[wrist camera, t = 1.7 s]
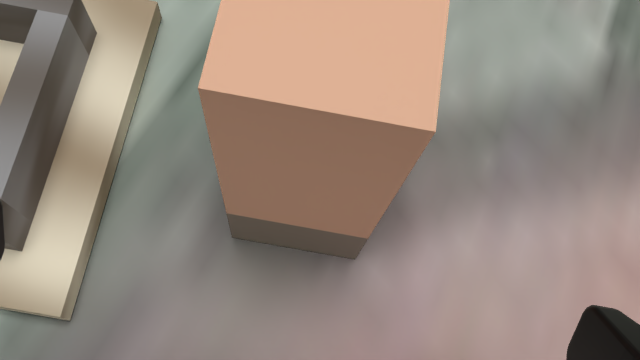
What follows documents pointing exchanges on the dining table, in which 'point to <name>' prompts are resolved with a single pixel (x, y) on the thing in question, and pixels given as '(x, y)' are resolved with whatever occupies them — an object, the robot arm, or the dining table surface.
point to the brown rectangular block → (319, 113)
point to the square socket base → (63, 136)
